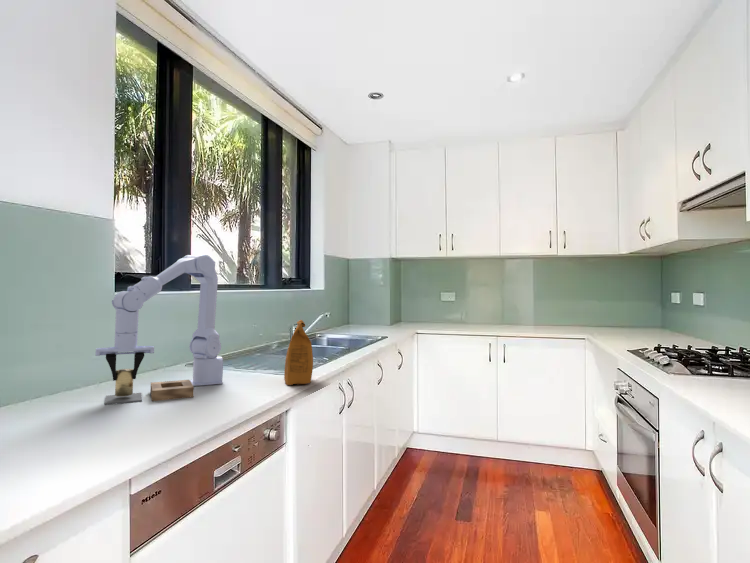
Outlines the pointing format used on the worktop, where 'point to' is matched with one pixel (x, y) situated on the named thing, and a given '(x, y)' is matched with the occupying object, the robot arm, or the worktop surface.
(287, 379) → the coffee package
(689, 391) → the worktop surface
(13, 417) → the worktop surface
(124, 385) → the end cover
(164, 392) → the housing
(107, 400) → the mat
